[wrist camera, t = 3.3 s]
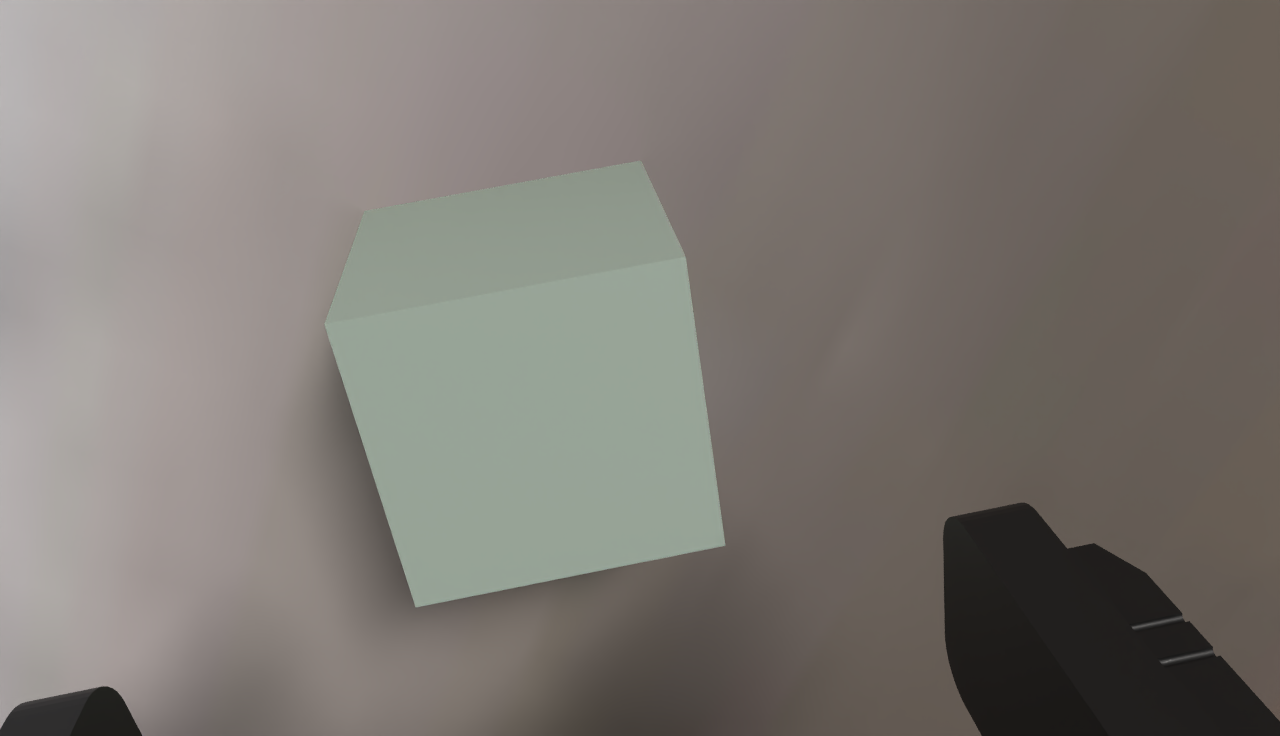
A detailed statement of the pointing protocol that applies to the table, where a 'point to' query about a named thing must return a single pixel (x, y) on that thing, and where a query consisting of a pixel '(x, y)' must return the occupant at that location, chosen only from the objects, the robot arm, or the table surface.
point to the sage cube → (528, 382)
